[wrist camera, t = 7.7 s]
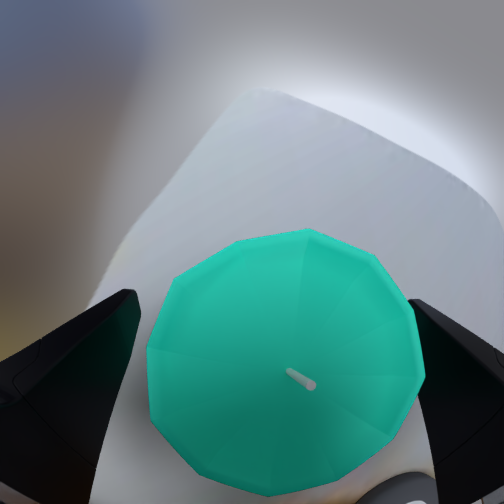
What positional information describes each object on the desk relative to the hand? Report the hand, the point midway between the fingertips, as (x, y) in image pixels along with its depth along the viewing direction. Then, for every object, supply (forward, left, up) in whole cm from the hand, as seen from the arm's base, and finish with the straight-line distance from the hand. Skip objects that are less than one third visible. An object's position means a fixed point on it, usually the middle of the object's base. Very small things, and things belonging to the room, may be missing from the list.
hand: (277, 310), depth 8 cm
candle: (-2, 0, -8) cm, 8 cm away
